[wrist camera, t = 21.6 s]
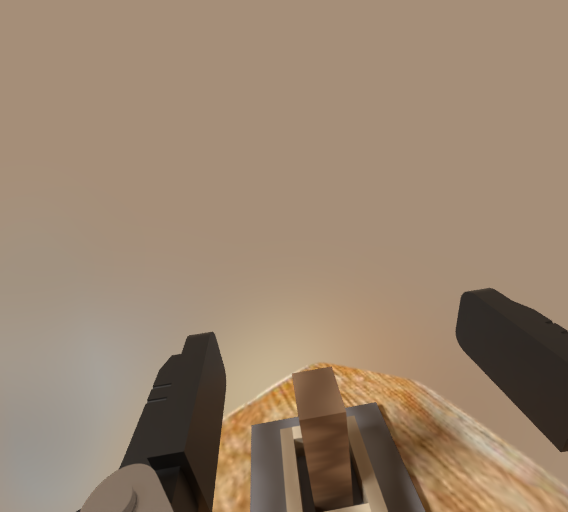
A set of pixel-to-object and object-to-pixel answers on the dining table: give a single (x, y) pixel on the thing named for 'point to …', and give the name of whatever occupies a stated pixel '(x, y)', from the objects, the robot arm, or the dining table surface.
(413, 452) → the dining table surface
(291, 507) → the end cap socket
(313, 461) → the walnut slat
